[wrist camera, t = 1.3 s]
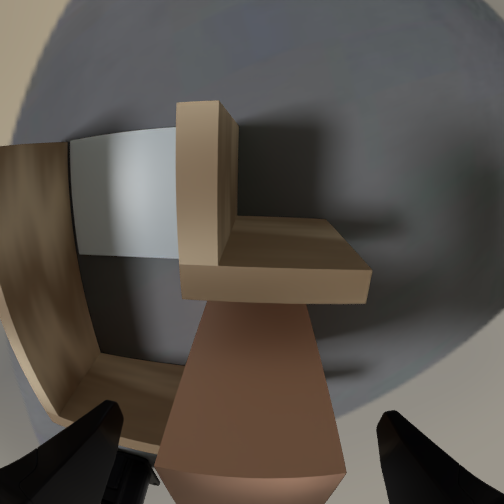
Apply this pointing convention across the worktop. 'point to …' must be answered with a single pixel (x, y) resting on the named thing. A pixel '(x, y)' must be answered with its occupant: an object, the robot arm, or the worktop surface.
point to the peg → (252, 412)
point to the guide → (144, 255)
